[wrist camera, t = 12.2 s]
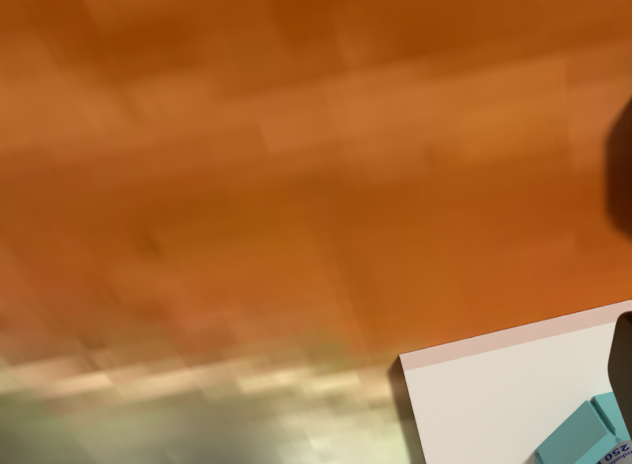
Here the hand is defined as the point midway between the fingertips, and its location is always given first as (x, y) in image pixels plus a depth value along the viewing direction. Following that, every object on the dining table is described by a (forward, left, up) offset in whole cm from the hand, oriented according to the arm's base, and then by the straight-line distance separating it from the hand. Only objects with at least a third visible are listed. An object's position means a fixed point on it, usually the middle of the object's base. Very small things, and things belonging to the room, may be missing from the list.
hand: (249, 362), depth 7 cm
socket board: (+9, -19, -13) cm, 25 cm away
